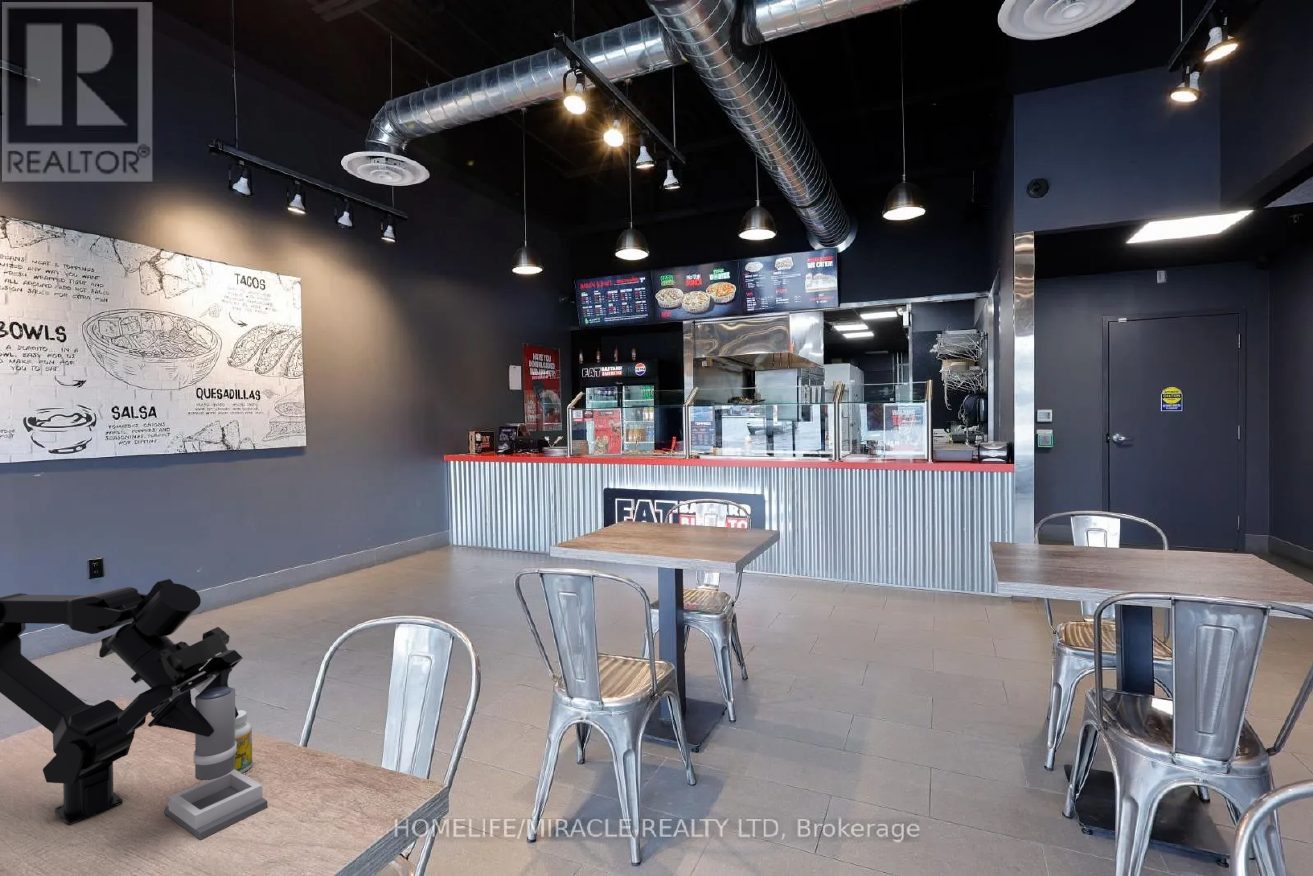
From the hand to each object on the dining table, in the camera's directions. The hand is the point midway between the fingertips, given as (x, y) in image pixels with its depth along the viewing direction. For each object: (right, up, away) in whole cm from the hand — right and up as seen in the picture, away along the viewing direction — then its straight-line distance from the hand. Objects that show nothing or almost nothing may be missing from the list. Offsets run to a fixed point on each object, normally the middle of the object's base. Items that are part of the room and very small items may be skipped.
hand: (224, 725), depth 94 cm
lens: (-1, -7, 0) cm, 7 cm away
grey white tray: (-1, -13, 0) cm, 13 cm away
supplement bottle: (-7, -13, +11) cm, 19 cm away
